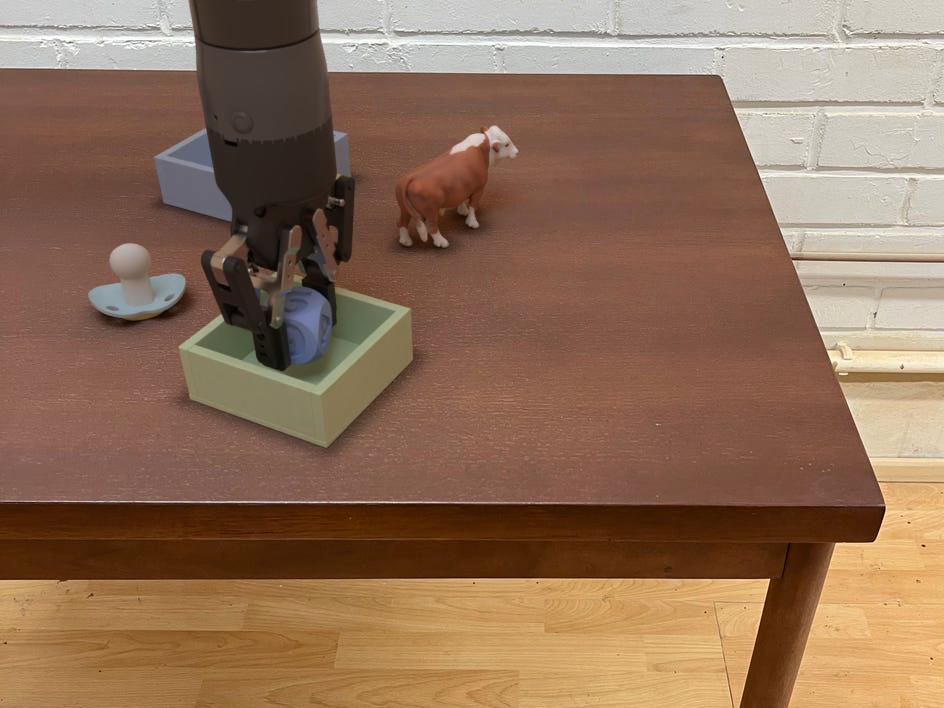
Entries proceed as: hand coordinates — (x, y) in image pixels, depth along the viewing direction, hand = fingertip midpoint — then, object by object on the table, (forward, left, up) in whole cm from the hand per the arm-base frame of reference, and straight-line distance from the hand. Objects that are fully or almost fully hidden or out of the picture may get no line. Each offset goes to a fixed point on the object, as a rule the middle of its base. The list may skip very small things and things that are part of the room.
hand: (299, 344), depth 71 cm
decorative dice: (0, 0, -1) cm, 1 cm away
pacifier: (-17, +2, -3) cm, 17 cm away
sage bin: (0, 0, -3) cm, 3 cm away
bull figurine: (-1, +25, -3) cm, 25 cm away
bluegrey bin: (-21, +23, -3) cm, 31 cm away
